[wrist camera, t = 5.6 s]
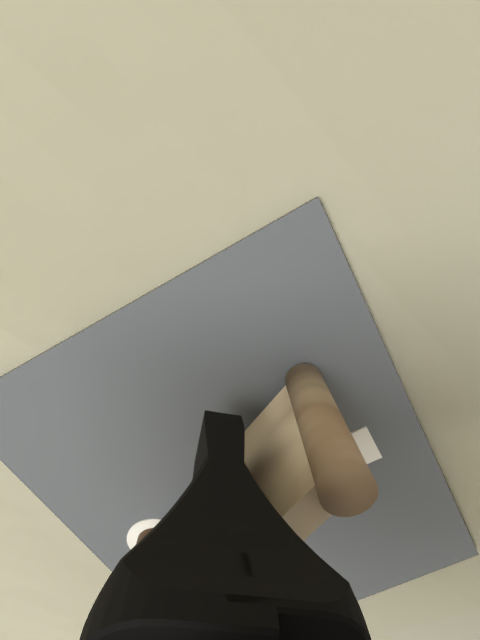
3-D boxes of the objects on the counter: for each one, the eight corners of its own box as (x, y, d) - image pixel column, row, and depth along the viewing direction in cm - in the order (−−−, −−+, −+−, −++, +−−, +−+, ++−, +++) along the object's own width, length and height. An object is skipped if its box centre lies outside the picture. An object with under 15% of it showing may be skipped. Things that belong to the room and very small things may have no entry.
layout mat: (316, 197, 12) (318, 197, 11) (474, 548, 17) (479, 556, 17) (-47, 403, 14) (-54, 408, 13) (200, 653, 20) (200, 661, 19)
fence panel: (181, 535, 16) (157, 697, 11) (155, 522, 15) (117, 682, 10) (329, 376, 13) (390, 489, 8) (301, 356, 13) (347, 461, 8)
